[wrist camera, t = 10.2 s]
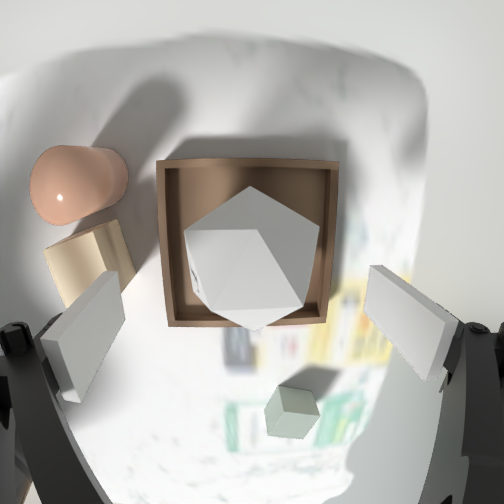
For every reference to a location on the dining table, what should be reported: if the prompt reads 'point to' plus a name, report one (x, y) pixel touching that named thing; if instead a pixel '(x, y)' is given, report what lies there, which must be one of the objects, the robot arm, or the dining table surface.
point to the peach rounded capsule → (76, 182)
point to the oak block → (89, 259)
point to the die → (251, 259)
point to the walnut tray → (221, 190)
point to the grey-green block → (291, 413)
